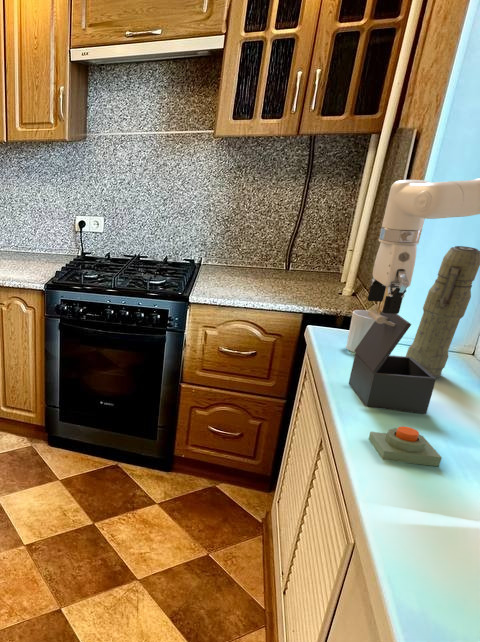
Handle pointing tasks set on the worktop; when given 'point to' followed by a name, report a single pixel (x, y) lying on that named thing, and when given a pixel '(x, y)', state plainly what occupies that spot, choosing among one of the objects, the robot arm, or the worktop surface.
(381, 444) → the block
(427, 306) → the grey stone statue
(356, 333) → the cup
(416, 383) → the dark grey lidded box
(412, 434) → the button
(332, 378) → the worktop surface
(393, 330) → the box lid
